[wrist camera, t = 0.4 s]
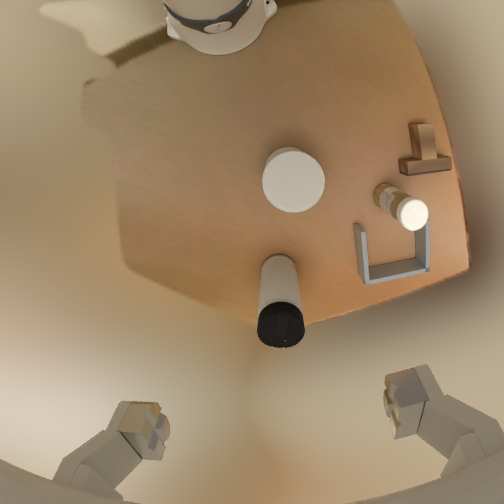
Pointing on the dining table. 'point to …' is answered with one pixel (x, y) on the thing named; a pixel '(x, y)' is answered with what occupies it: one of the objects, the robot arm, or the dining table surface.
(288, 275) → the travel mug
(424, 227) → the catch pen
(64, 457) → the robot arm
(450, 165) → the scraper
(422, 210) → the sprinkles bottle
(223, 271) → the dining table surface
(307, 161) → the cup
